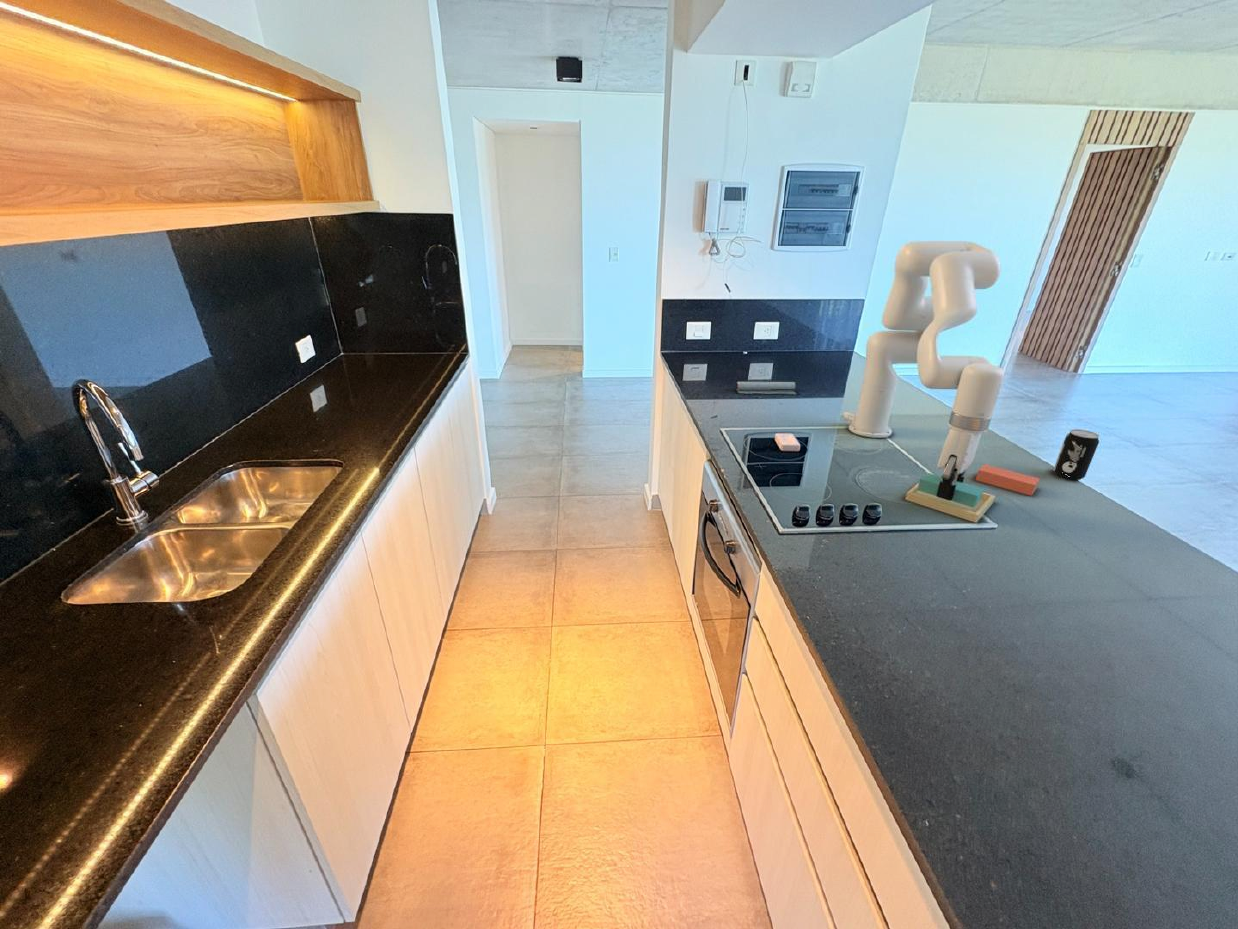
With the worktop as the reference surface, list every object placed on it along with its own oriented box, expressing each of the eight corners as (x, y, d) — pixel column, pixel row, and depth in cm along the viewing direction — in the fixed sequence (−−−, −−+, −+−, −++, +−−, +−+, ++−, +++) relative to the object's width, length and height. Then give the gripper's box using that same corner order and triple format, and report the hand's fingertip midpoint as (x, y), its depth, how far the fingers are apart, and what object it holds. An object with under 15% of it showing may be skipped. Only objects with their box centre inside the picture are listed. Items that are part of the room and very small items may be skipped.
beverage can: (1089, 482, 135) (1107, 438, 130) (1060, 480, 137) (1077, 437, 132) (1074, 471, 141) (1091, 429, 136) (1047, 469, 142) (1062, 427, 137)
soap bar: (781, 451, 154) (782, 444, 153) (774, 440, 162) (775, 432, 161) (799, 452, 154) (800, 444, 153) (792, 440, 162) (793, 432, 161)
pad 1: (916, 490, 126) (919, 478, 125) (924, 483, 129) (927, 472, 128) (973, 507, 118) (977, 496, 117) (980, 500, 121) (984, 488, 120)
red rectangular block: (975, 480, 137) (978, 469, 135) (981, 474, 140) (984, 464, 139) (1031, 496, 129) (1035, 485, 127) (1035, 489, 132) (1039, 478, 131)
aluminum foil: (792, 389, 211) (793, 380, 209) (797, 394, 204) (798, 385, 203) (735, 388, 211) (736, 380, 210) (738, 393, 205) (739, 385, 204)
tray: (905, 499, 127) (907, 492, 126) (924, 482, 135) (926, 475, 135) (976, 523, 117) (978, 515, 116) (992, 503, 125) (995, 495, 125)
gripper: (962, 408, 124) (942, 478, 131) (937, 426, 113) (917, 501, 121) (999, 416, 119) (977, 488, 126) (977, 435, 108) (953, 512, 116)
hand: (948, 493), depth 123 cm, fingers closed on pad 1, 5 cm apart
